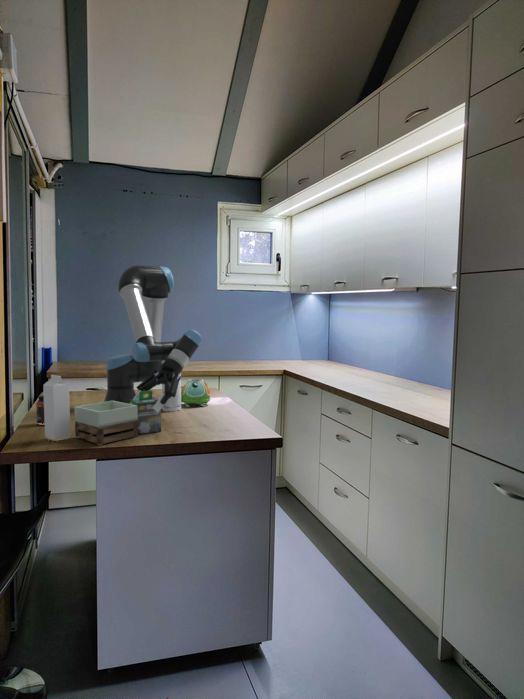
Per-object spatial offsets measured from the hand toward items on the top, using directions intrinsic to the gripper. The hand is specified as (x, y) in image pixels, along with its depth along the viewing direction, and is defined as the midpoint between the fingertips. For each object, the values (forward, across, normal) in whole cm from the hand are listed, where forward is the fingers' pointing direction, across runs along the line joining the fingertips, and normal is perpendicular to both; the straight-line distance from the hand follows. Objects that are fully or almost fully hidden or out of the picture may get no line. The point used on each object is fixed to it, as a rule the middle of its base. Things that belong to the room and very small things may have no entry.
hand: (143, 408), depth 182 cm
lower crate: (+16, +3, +4) cm, 16 cm away
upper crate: (+11, +2, +8) cm, 14 cm away
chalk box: (+5, 0, -7) cm, 9 cm away
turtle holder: (-26, +24, -38) cm, 52 cm away
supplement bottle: (+18, +39, +6) cm, 43 cm away
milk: (+24, +14, +12) cm, 30 cm away
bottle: (-17, +23, -29) cm, 41 cm away
